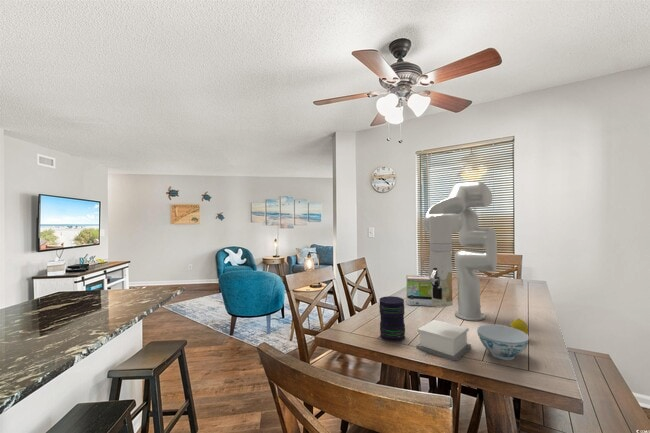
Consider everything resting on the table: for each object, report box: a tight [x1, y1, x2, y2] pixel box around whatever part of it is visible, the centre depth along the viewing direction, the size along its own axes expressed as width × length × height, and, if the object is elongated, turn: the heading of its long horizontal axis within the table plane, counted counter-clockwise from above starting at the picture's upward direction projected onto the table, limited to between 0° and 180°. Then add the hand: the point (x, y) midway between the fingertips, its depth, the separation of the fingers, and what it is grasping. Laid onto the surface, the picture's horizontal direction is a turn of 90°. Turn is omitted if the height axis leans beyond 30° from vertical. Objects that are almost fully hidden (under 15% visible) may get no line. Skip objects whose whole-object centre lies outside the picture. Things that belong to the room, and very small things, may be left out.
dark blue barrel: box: [379, 295, 406, 343], centre depth 116 cm, size 10×10×15 cm
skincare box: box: [432, 271, 453, 308], centre depth 106 cm, size 6×4×12 cm
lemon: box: [510, 318, 529, 335], centre depth 111 cm, size 6×6×8 cm
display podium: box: [415, 319, 472, 362], centre depth 105 cm, size 14×14×7 cm
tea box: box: [406, 274, 436, 307], centre depth 160 cm, size 15×10×15 cm, turn 77°
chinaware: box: [476, 324, 529, 361], centre depth 99 cm, size 15×15×8 cm
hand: (442, 296), depth 105 cm, fingers closed on skincare box, 7 cm apart
